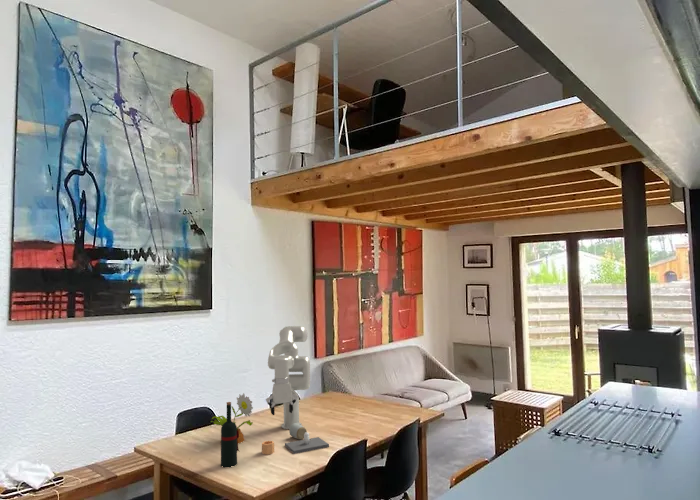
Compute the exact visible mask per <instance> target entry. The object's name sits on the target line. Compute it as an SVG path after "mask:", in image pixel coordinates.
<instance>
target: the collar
mask: <svg viewBox="0 0 700 500" xmlns="http://www.w3.org/2000/svg"><path fill="white" fill-rule="evenodd" d="M274 453H275V442H274V441H273V440H266V441H265V440H264V441H263V442H261V454H263V455H267V456H268V455H273V454H274Z"/></svg>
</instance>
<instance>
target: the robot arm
mask: <svg viewBox="0 0 700 500" xmlns="http://www.w3.org/2000/svg"><path fill="white" fill-rule="evenodd" d="M307 339H308V331H307V328H306V327H304V326H301V325H293V326H285V327H283V328H282V329H281V330H279V342H278V343H277V344H275V345H274V346H273V347H272V348H271V349H270V351H269V354H268V359H267V366H268V368H269V369H270V370H274V378H273V379H271V382H272V383H273V385H272V391H271V392H272V393H271V395H270V396H268V397H267V398H265V402H266V403H267V405H269V407H270V414H271V415H272V416H275V414H276V413H275V409H276V408H275V406H276V405H279V404H283V423H281V425H280V427H281V428H282V429H284V430H289V429H290V427H291V425H292V424H294V423H298V424H299V425H301V426H303V424H302V423H301V421H300V398H299V395H298V393H297V392H296V391H306V390H309V389H310V387H311V361H310V358H309V357H308V356H303V355H302V356H299V347H298V346H297V344H296V343H305V342H306V341H307ZM290 373H291V374H290ZM271 401H272V402H271Z"/></svg>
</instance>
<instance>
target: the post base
mask: <svg viewBox="0 0 700 500" xmlns="http://www.w3.org/2000/svg"><path fill="white" fill-rule="evenodd" d="M284 447H285V448H286V449H288V450H289V451H290V452H291V453H292V454H295V455H296V454H300V453H306V452H311V451H315V450H320V449H321V450H322V449H325V448H329V447H330V443H328V442H326V441H325V440H323V439H322V438H320V437H319V436H317V437H313V438H310V433H309V432H308V431H307V432H306V433H305V434H304V439H301V440H296V441H295V440H294V441H290V442H284Z"/></svg>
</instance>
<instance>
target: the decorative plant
mask: <svg viewBox="0 0 700 500" xmlns="http://www.w3.org/2000/svg"><path fill="white" fill-rule="evenodd" d="M236 400H237V401H236V405H237V406H238V410H237V411H235V408H234V406H232V405H231V411H232V412H233V414H234V418H233V422H234V423H235V424H236V421H235V420H236V418H238V417H241V416H243V415H244V416H245V417H247V416H248V417H250V416H251V414H252V413H253V411H252V410H253V409H254V407H253V404H252V403H253V401H252V400H251V399H250V397H249V396H246V395H245V393H244V392H243V393H242V394H241V393H240V394H239V396H238V397H236ZM239 411H240V413H239V414H238V412H239ZM213 420H214V421H213ZM212 422H213V424H214V425H216V426H220V427H222V425H223V424H224V423H225V422H227V417H225V416H224V415H218V416H216V415H215V416H212V418H211V421H210V423H212ZM245 424H247V425H249V427H250V426H253V424H254V422H253V421H252V422H251V420H249V419H248V420H246V421H243V422H242V423H240V424H239V425H238V426H237V431H239V438H237V441H238V443H239V444H241V442H242V443H244V442H245V437H244V433H243V432H242V430H241V426H243V425H245ZM243 441H244V442H243Z"/></svg>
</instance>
